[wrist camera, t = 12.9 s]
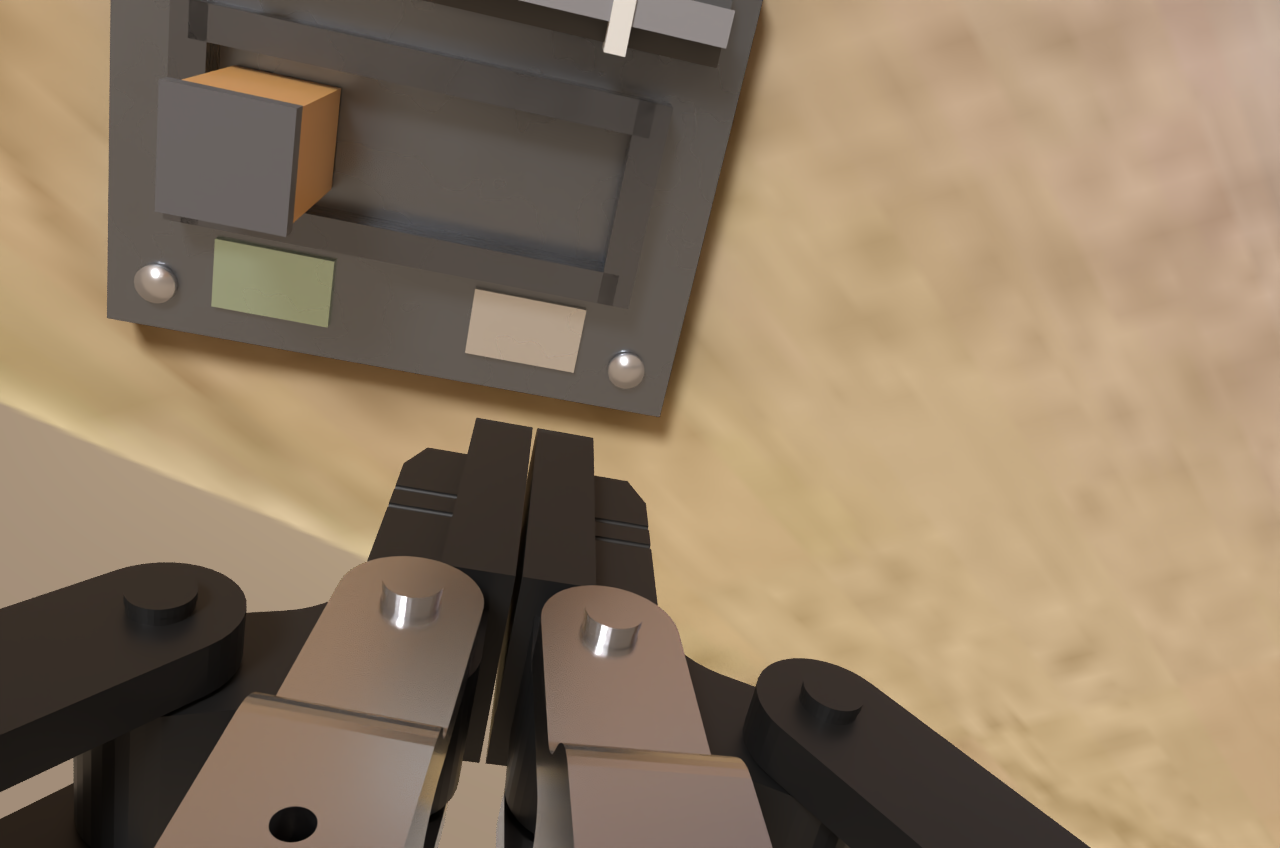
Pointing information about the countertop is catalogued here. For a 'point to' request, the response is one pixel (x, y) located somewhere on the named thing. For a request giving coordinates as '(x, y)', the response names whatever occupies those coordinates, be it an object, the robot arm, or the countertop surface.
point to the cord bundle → (625, 23)
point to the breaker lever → (244, 147)
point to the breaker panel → (438, 194)
